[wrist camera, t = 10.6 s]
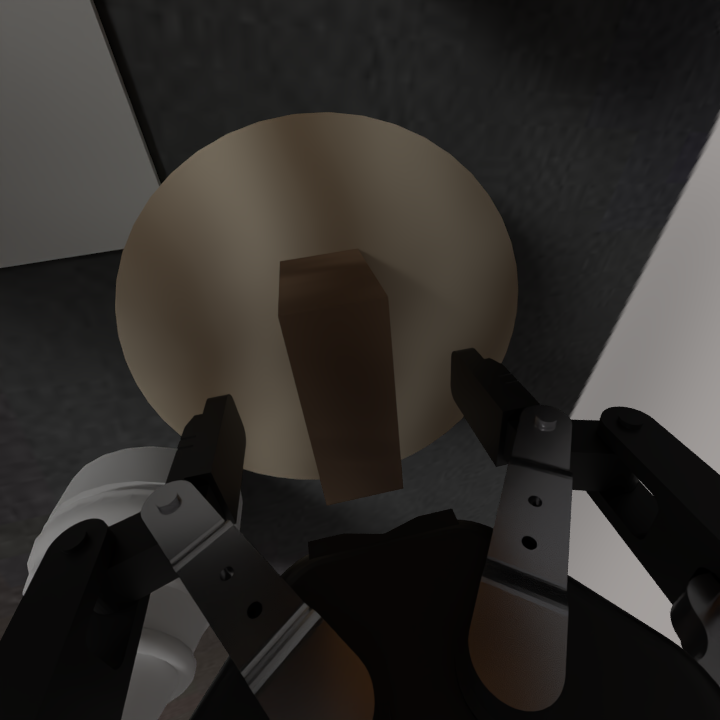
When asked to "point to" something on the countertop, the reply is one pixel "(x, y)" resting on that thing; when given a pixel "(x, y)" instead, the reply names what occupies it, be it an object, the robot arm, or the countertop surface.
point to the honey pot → (167, 604)
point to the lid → (317, 294)
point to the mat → (65, 136)
